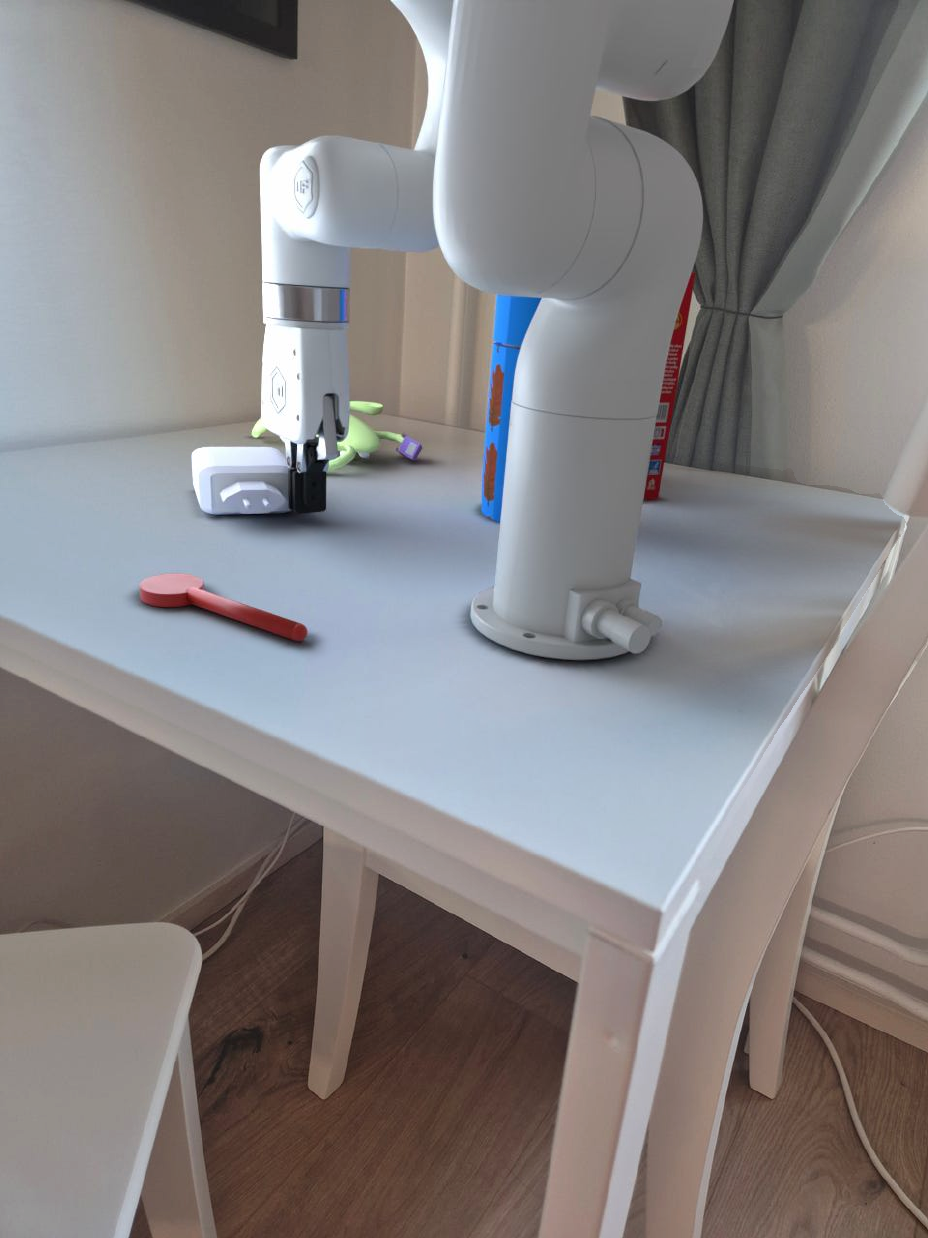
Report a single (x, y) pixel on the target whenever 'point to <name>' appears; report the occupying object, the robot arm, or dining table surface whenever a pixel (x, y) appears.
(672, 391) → the food packaging
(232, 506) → the charger
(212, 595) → the red flat paddle
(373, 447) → the figurine
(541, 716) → the dining table surface
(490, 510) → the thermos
